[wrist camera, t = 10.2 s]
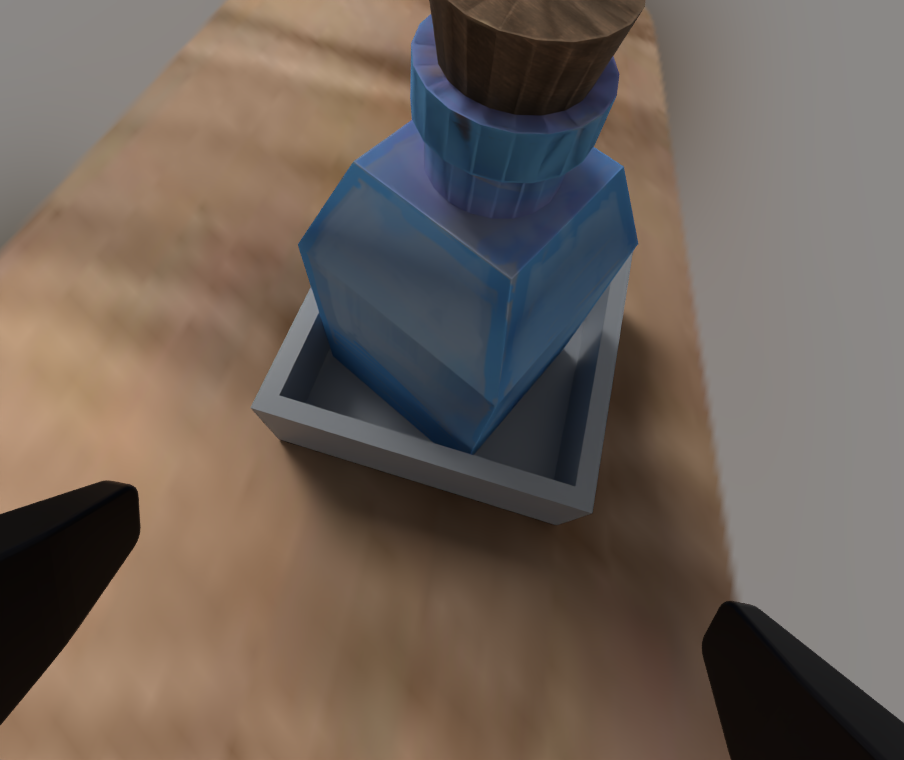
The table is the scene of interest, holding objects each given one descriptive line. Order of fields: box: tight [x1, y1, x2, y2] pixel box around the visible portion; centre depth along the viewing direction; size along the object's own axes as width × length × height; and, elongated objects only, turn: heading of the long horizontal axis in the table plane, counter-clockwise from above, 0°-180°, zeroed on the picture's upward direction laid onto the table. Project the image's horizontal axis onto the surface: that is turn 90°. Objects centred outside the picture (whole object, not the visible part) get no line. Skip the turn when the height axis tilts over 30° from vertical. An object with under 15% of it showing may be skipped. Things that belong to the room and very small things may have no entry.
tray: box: [251, 252, 633, 525], centre depth 17 cm, size 10×10×3 cm
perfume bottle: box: [298, 0, 645, 455], centre depth 12 cm, size 6×6×12 cm
